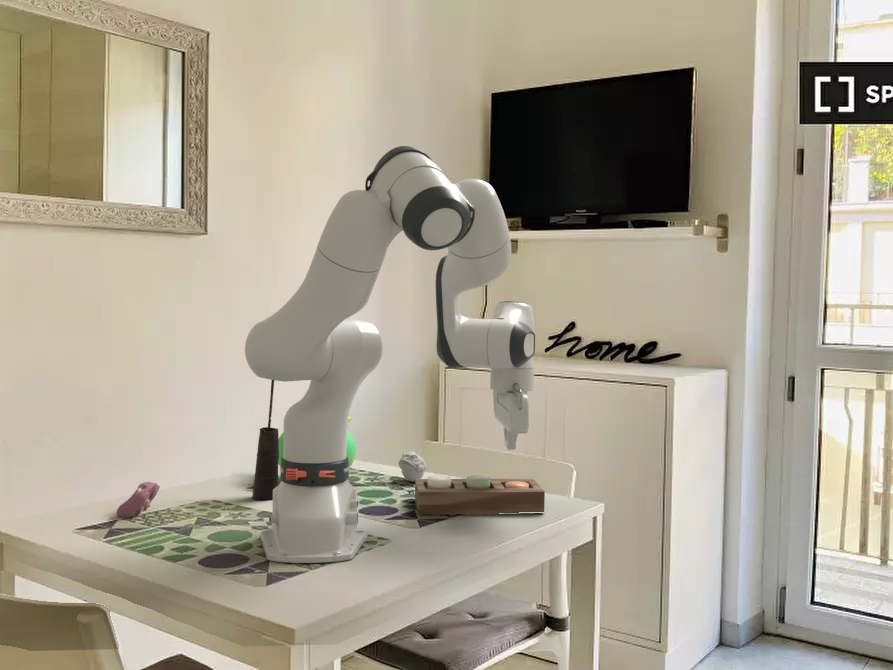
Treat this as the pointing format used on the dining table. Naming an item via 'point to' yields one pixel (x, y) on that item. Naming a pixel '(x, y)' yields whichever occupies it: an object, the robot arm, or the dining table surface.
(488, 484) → the sage button
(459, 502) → the button panel
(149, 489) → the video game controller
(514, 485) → the terracotta button
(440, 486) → the cream button
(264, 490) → the butter churn
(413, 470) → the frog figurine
